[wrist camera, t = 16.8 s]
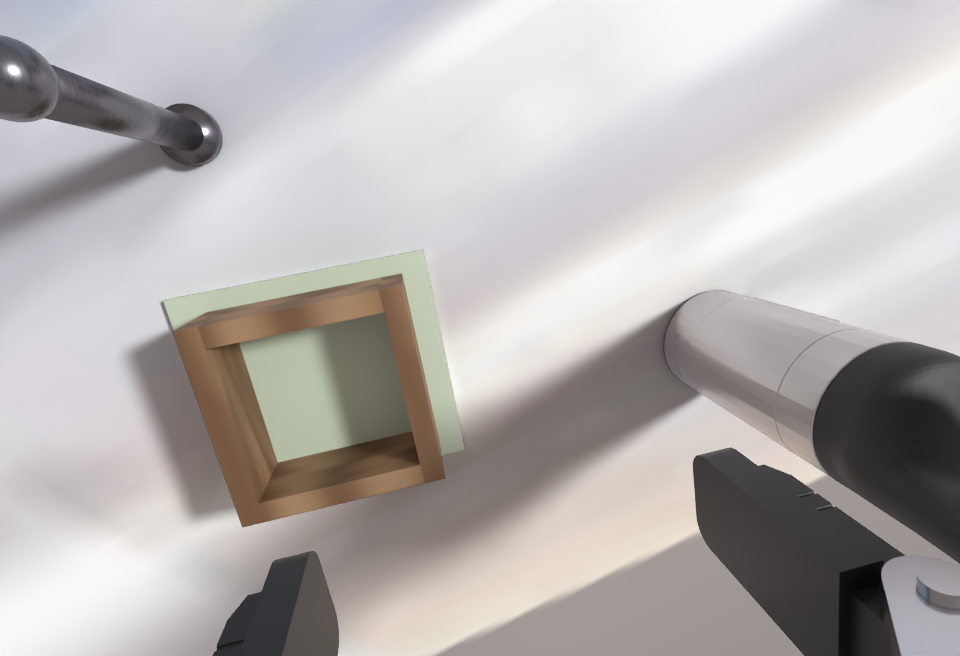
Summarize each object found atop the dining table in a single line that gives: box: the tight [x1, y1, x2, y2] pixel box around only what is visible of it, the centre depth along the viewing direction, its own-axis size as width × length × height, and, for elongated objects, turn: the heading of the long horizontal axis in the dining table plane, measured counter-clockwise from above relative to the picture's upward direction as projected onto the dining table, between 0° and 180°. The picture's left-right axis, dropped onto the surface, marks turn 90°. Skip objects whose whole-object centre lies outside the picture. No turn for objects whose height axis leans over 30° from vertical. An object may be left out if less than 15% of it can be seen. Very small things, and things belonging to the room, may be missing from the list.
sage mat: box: [163, 249, 465, 462], centre depth 42 cm, size 20×18×1 cm
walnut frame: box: [173, 273, 445, 527], centre depth 39 cm, size 15×15×6 cm
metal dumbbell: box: [0, 35, 222, 166], centre depth 27 cm, size 4×4×19 cm
